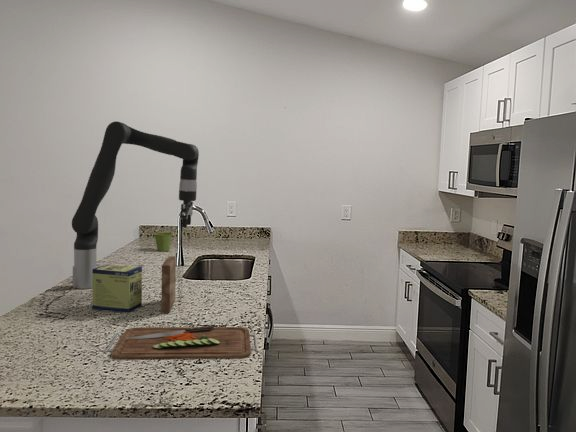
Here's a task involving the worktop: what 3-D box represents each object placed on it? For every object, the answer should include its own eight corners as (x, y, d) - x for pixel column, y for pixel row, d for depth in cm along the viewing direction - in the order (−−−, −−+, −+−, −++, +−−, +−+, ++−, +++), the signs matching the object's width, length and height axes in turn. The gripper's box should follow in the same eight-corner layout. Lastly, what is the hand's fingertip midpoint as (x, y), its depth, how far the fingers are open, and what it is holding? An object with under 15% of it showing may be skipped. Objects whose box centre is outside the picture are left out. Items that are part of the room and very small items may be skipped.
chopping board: (99, 361, 146) (99, 350, 146) (119, 331, 173) (120, 322, 172) (259, 359, 151) (259, 349, 150) (255, 330, 177) (255, 322, 177)
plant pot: (152, 249, 335) (152, 232, 334) (170, 249, 340) (170, 232, 339) (155, 252, 325) (155, 235, 324) (174, 252, 330) (174, 234, 329)
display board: (161, 313, 193) (161, 265, 191) (167, 299, 213) (168, 256, 211) (169, 313, 193) (170, 265, 192) (175, 299, 213) (175, 256, 211)
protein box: (129, 312, 192) (129, 271, 191) (91, 309, 195) (91, 268, 194) (142, 305, 203) (143, 266, 201) (106, 302, 206) (106, 263, 204)
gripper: (182, 188, 235) (181, 223, 237) (175, 190, 221) (174, 227, 223) (199, 189, 236) (197, 224, 237) (193, 191, 221) (191, 228, 223)
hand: (186, 226), depth 230 cm, fingers open, 8 cm apart
